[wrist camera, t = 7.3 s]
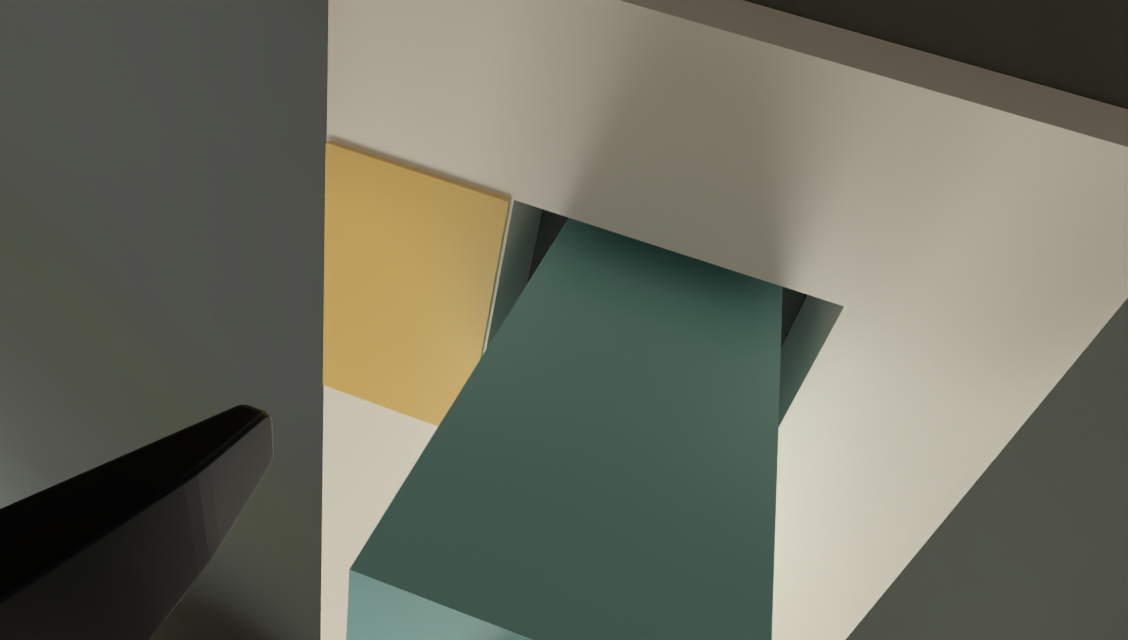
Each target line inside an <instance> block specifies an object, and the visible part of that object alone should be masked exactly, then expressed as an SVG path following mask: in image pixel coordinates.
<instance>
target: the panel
mask: <svg viewBox="0 0 1128 640" xmlns="http://www.w3.org/2000/svg"><path fill="white" fill-rule="evenodd" d="M543 209H544V210H547V211H550V212H553V213H556V214H559V215H562V216H565V217H568V218H572V219H575V220H578V221H581V222H584V223H587V224H590V225H593V226H596V227H599V228H603V229H606V230H609V231H612V232H615V233H618V234H621V235H624V236H627V237H630V238H633V239H637V240H640V241H643V242H646V243H649V244H652V245H655V246H658V247H661V248H664V249H668V250H671V251H674V252H677V253H680V254H683V255H686V256H689V257H692V258H695V259H699V260H702V261H705V262H708V263H711V264H714V265H717V266H720V267H723V268H726V269H730V270H733V271H736V272H739V273H742V274H745V275H748V276H751V277H754V278H757V279H761V280H764V281H767V282H770V283H773V284H776V285H779V286H782V287H785V288H788V289H792V290H795V291H798V292H801V293H804V294H807V296H806V298H805V300H804V302H803V304H802V306H801V308H800V310H799V312H798V314H797V316H796V318H795V320H794V322H793V324H792V326H791V328H790V330H789V332H788V334H787V336H786V338H785V340H784V342H783V344H782V346H781V360H780V391H779V423H778V454H777V485H776V517H775V548H774V580H773V611H772V640H846V638H847V637H848V636H849V635H850V634H851V632H852V631H853V630H854V629H855V627H856V626H857V625H858V624H859V623H860V621H861V620H862V619H863V618H864V617H865V615H866V614H867V613H868V612H869V611H870V609H871V608H872V607H873V606H874V604H875V603H876V602H877V601H878V600H879V598H880V597H881V596H882V595H883V594H884V592H885V591H886V590H887V589H888V587H889V586H890V585H891V584H892V583H893V581H894V580H895V579H896V578H897V577H898V575H899V574H900V573H901V572H902V571H903V569H904V568H905V567H906V566H907V564H908V563H909V562H910V561H911V560H912V558H913V557H914V556H915V555H916V554H917V552H918V551H919V550H920V549H921V547H922V546H923V545H924V544H925V543H926V541H927V540H928V539H929V538H930V537H931V535H932V534H933V533H934V532H935V531H936V529H937V528H938V527H939V526H940V524H941V523H942V522H943V521H944V520H945V518H946V517H947V516H948V515H949V514H950V512H951V511H952V510H953V509H954V507H955V506H956V505H957V504H958V503H959V501H960V500H961V499H962V498H963V497H964V495H965V494H966V493H967V492H968V491H969V489H970V488H971V487H972V486H973V484H974V483H975V482H976V481H977V480H978V478H979V477H980V476H981V475H982V474H983V472H984V471H985V470H986V469H987V467H988V466H989V465H990V464H991V463H992V461H993V460H994V459H995V458H996V457H997V455H998V454H999V453H1000V452H1001V451H1002V449H1003V448H1004V447H1005V446H1006V444H1007V443H1008V442H1009V441H1010V440H1011V438H1012V437H1013V436H1014V435H1015V434H1016V432H1017V431H1018V430H1019V429H1020V428H1021V426H1022V425H1023V424H1024V423H1025V421H1026V420H1027V419H1028V418H1029V417H1030V415H1031V414H1032V413H1033V412H1034V411H1035V409H1036V408H1037V407H1038V406H1039V404H1040V403H1041V402H1042V401H1043V400H1044V398H1045V397H1046V396H1047V395H1048V394H1049V392H1050V391H1051V390H1052V389H1053V388H1054V386H1055V385H1056V384H1057V383H1058V381H1059V380H1060V379H1061V378H1062V377H1063V375H1064V374H1065V373H1066V372H1067V371H1068V369H1069V368H1070V367H1071V366H1072V364H1073V363H1074V362H1075V361H1076V360H1077V358H1078V357H1079V356H1080V355H1081V354H1082V352H1083V351H1084V350H1085V349H1086V348H1087V346H1088V345H1089V344H1090V343H1091V341H1092V340H1093V339H1094V338H1095V337H1096V335H1097V334H1098V333H1099V332H1100V331H1101V329H1102V328H1103V327H1104V326H1105V324H1106V323H1107V322H1108V321H1109V320H1110V318H1111V317H1112V316H1113V315H1114V314H1115V312H1116V311H1117V310H1118V309H1119V308H1120V306H1121V305H1122V304H1123V303H1124V301H1125V300H1126V299H1127V298H1128V109H1125V108H1121V107H1118V106H1114V105H1110V104H1107V103H1103V102H1100V101H1096V100H1093V99H1089V98H1086V97H1082V96H1079V95H1075V94H1072V93H1068V92H1065V91H1061V90H1058V89H1054V88H1051V87H1047V86H1044V85H1040V84H1036V83H1033V82H1029V81H1026V80H1022V79H1019V78H1015V77H1012V76H1008V75H1005V74H1001V73H998V72H994V71H991V70H987V69H984V68H980V67H977V66H973V65H969V64H966V63H962V62H959V61H955V60H952V59H948V58H945V57H941V56H938V55H934V54H931V53H927V52H924V51H920V50H917V49H913V48H910V47H906V46H903V45H899V44H895V43H892V42H888V41H885V40H881V39H878V38H874V37H871V36H867V35H864V34H860V33H857V32H853V31H850V30H846V29H843V28H839V27H836V26H832V25H829V24H825V23H821V22H818V21H814V20H811V19H807V18H804V17H800V16H797V15H793V14H790V13H786V12H783V11H779V10H776V9H772V8H769V7H765V6H762V5H758V4H755V3H751V2H747V1H744V0H329V6H328V86H327V142H326V161H325V247H324V333H323V385H324V404H323V484H322V563H321V640H346V634H347V611H348V589H349V569H350V568H351V566H352V564H353V563H354V561H355V560H356V558H357V556H358V555H359V553H360V552H361V550H362V548H363V547H364V545H365V544H366V542H367V540H368V539H369V537H370V536H371V534H372V532H373V531H374V529H375V528H376V526H377V524H378V523H379V521H380V520H381V518H382V516H383V515H384V513H385V512H386V510H387V508H388V507H389V505H390V503H391V502H392V500H393V499H394V497H395V495H396V494H397V492H398V491H399V489H400V487H401V486H402V484H403V483H404V481H405V479H406V478H407V476H408V475H409V473H410V471H411V470H412V468H413V467H414V465H415V463H416V462H417V460H418V459H419V457H420V455H421V454H422V452H423V450H424V449H425V447H426V446H427V444H428V442H429V441H430V439H431V438H432V436H433V434H434V433H435V431H436V430H437V428H438V426H439V425H440V423H441V422H442V420H443V418H444V417H445V415H446V414H447V412H448V410H449V409H450V407H451V406H452V404H453V402H454V401H455V399H456V398H457V396H458V394H459V393H460V391H461V389H462V388H463V386H464V385H465V383H466V381H467V380H468V378H469V377H470V375H471V373H472V372H473V370H474V369H475V367H476V365H477V364H478V362H479V361H480V359H481V357H482V356H483V354H484V353H485V351H486V349H487V348H488V346H489V345H490V343H491V341H492V340H493V338H494V336H495V335H496V333H497V332H498V330H499V328H500V327H501V325H502V324H503V322H504V320H505V319H506V317H507V316H508V314H509V312H510V311H511V309H512V308H513V306H514V304H515V303H516V301H517V300H518V298H519V296H520V295H521V293H522V292H523V290H524V288H525V287H526V285H527V282H528V278H529V273H530V268H531V264H532V259H533V254H534V250H535V245H536V240H537V236H538V231H539V226H540V222H541V217H542V212H543Z"/></svg>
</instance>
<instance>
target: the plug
mask: <svg viewBox="0 0 1128 640" xmlns="http://www.w3.org/2000/svg"><path fill="white" fill-rule="evenodd" d="M782 297H783V287H782V286H779V285H776V284H773V283H770V282H767V281H764V280H761V279H757V278H754V277H751V276H748V275H745V274H742V273H739V272H736V271H733V270H730V269H726V268H723V267H720V266H717V265H714V264H711V263H708V262H705V261H702V260H699V259H695V258H692V257H689V256H686V255H683V254H680V253H677V252H674V251H671V250H668V249H664V248H661V247H658V246H655V245H652V244H649V243H646V242H643V241H640V240H637V239H633V238H630V237H627V236H624V235H621V234H618V233H615V232H612V231H609V230H606V229H603V228H599V227H596V226H593V225H590V224H587V223H584V222H581V221H578V220H575V219H572V218H568V219H567V221H566V223H565V224H564V226H563V227H562V229H561V231H560V232H559V234H558V235H557V237H556V239H555V240H554V242H553V243H552V245H551V247H550V248H549V250H548V251H547V253H546V255H545V256H544V258H543V259H542V261H541V263H540V264H539V266H538V267H537V269H536V271H535V272H534V274H533V275H532V277H531V279H530V280H529V282H528V284H527V285H526V287H525V288H524V290H523V292H522V293H521V295H520V296H519V298H518V300H517V301H516V303H515V304H514V306H513V308H512V309H511V311H510V312H509V314H508V316H507V317H506V319H505V320H504V322H503V324H502V325H501V327H500V328H499V330H498V332H497V333H496V335H495V336H494V338H493V340H492V341H491V343H490V345H489V346H488V348H487V349H486V351H485V353H484V354H483V356H482V357H481V359H480V361H479V362H478V364H477V365H476V367H475V369H474V370H473V372H472V373H471V375H470V377H469V378H468V380H467V381H466V383H465V385H464V386H463V388H462V389H461V391H460V393H459V394H458V396H457V398H456V399H455V401H454V402H453V404H452V406H451V407H450V409H449V410H448V412H447V414H446V415H445V417H444V418H443V420H442V422H441V423H440V425H439V426H438V428H437V430H436V431H435V433H434V434H433V436H432V438H431V439H430V441H429V442H428V444H427V446H426V447H425V449H424V450H423V452H422V454H421V455H420V457H419V459H418V460H417V462H416V463H415V465H414V467H413V468H412V470H411V471H410V473H409V475H408V476H407V478H406V479H405V481H404V483H403V484H402V486H401V487H400V489H399V491H398V492H397V494H396V495H395V497H394V499H393V500H392V502H391V503H390V505H389V507H388V508H387V510H386V512H385V513H384V515H383V516H382V518H381V520H380V521H379V523H378V524H377V526H376V528H375V529H374V531H373V532H372V534H371V536H370V537H369V539H368V540H367V542H366V544H365V545H364V547H363V548H362V550H361V552H360V553H359V555H358V556H357V558H356V560H355V561H354V563H353V564H352V566H351V568H350V569H349V589H348V611H347V634H346V640H772V611H773V580H774V548H775V517H776V485H777V454H778V423H779V391H780V360H781V329H782Z"/></svg>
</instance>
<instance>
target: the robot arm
mask: <svg viewBox="0 0 1128 640" xmlns="http://www.w3.org/2000/svg"><path fill="white" fill-rule="evenodd" d="M273 452H274V449H273V427H272V418H271V416H270V414H269V413H267V412H265V411H263V410H260V409H257V408H254V407H252V406H249V405H239V406H236V407H233V408H231V409H229V410H226V411H224V412H222V413H219V414H217V415H215V416H213V417H210V418H208V419H206V420H203V421H201V422H199V423H197V424H194V425H192V426H190V427H187V428H185V429H183V430H180V431H178V432H176V433H174V434H171V435H169V436H167V437H164V438H162V439H160V440H158V441H155V442H153V443H151V444H148V445H146V446H144V447H141V448H139V449H137V450H135V451H132V452H130V453H128V454H125V455H123V456H121V457H118V458H116V459H114V460H112V461H109V462H107V463H105V464H102V465H100V466H98V467H96V468H93V469H91V470H89V471H86V472H84V473H82V474H79V475H77V476H75V477H73V478H70V479H68V480H66V481H63V482H61V483H59V484H57V485H54V486H52V487H50V488H47V489H45V490H43V491H40V492H38V493H36V494H34V495H31V496H29V497H27V498H24V499H22V500H20V501H17V502H15V503H13V504H11V505H8V506H6V507H4V508H1V509H0V640H150V639H151V638H152V636H153V635H154V634H155V632H156V631H157V630H158V629H159V627H160V626H161V625H162V623H163V622H164V621H165V620H166V618H167V617H168V616H169V614H170V613H171V612H172V611H173V609H174V608H175V607H176V605H177V604H178V603H179V602H180V600H181V599H182V598H183V596H184V595H185V594H186V593H187V591H188V590H189V589H190V587H191V586H192V585H193V584H194V582H195V581H196V580H197V578H198V577H199V576H200V574H201V573H202V572H203V570H204V569H205V568H206V566H207V565H208V564H209V562H210V561H211V559H212V558H213V556H214V555H215V553H216V552H217V550H218V549H219V547H220V546H221V544H222V542H223V541H224V539H225V538H226V536H227V534H228V533H229V531H230V530H231V528H232V526H233V525H234V523H235V522H236V520H237V518H238V517H239V515H240V513H241V512H242V510H243V509H244V507H245V505H246V504H247V502H248V501H249V499H250V497H251V496H252V494H253V493H254V491H255V489H256V488H257V486H258V485H259V483H260V481H261V480H262V478H263V477H264V475H265V473H266V472H267V470H268V468H269V466H270V464H271V462H272V459H273Z"/></svg>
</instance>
